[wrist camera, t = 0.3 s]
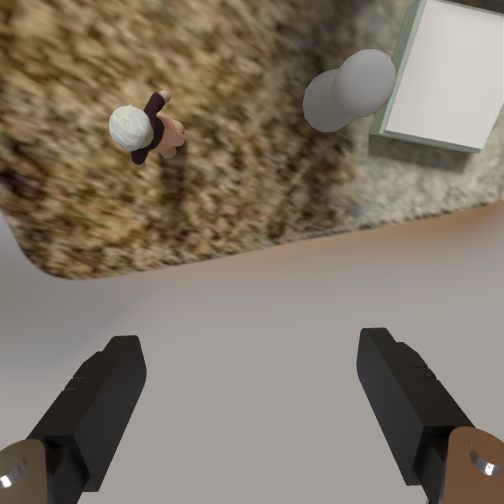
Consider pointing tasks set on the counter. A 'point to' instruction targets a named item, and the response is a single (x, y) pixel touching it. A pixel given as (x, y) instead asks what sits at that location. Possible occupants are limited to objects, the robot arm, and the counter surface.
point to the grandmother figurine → (146, 130)
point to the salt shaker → (349, 90)
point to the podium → (445, 77)
